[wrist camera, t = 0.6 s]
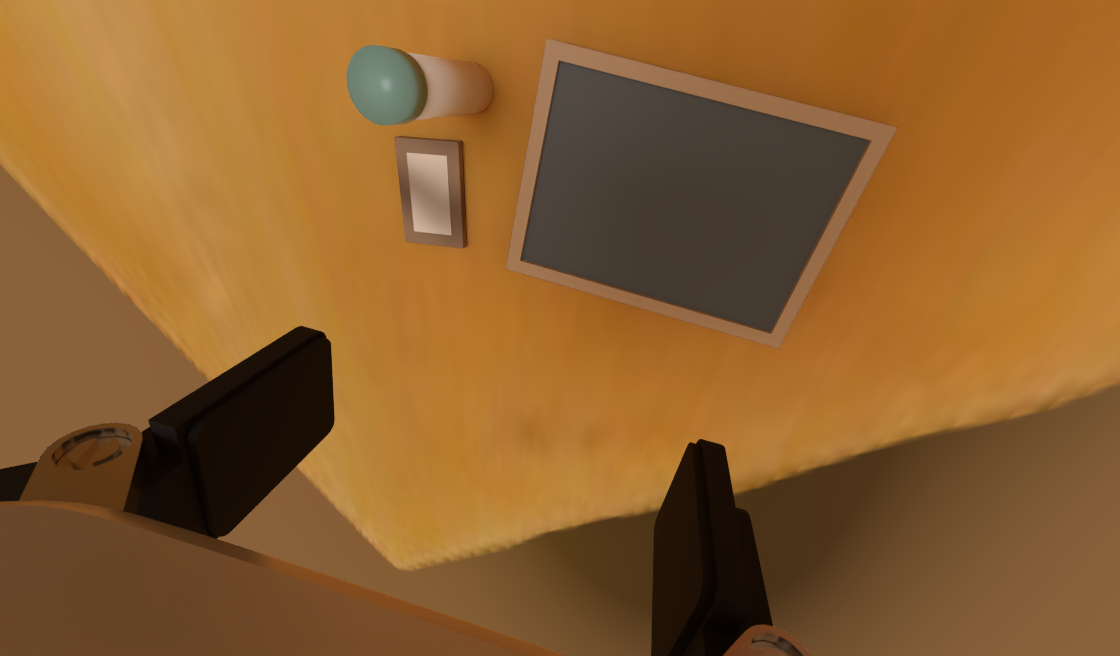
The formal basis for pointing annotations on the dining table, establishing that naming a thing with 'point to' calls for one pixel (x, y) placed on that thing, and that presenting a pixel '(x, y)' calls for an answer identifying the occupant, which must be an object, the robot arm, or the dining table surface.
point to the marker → (414, 86)
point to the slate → (685, 191)
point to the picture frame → (432, 190)
